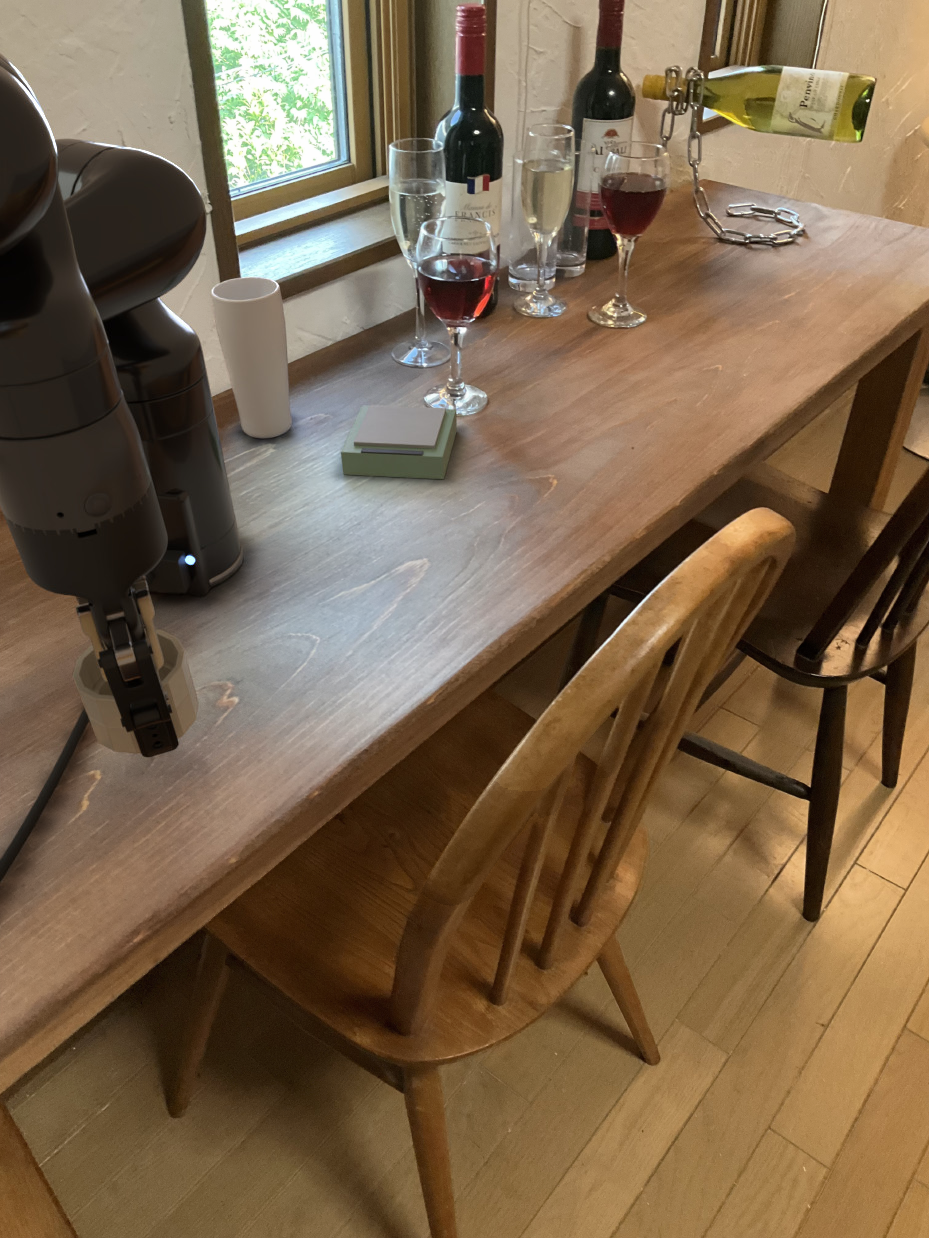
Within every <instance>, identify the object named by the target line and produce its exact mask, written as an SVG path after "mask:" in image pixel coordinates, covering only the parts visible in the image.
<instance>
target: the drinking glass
mask: <svg viewBox="0 0 929 1238" xmlns="http://www.w3.org/2000/svg"><path fill="white" fill-rule="evenodd" d="M210 299H211V305H212V307H211V308H212V313H213V320H214V324H215V330H216V333H217V334H216V335H217V337H218V338H217V339H218V343H219V346H220V349H221V353H222V356H223V361H224V364H225V368H226V371H227V373H228V374H227V375H228V378H229V382H230V386H231V389H232V393H233V397H234V400H235V404H236V408H237V412H238V417H239V422H240V427H241V430H242V432H244V433H245V434H246V435H247V436H249V437H252V438H256V439H271V438H277V437H279V436H281V435H283V434H285V433H287V432H288V431H289V430H290V429H291V427H292V425H293V416H292V410H291V400H290V399H291V398H290V379H289V361H288V360H289V358H288V337H287V325H286V317H285V310H284V309H285V308H284V303H283V297H282V293H281V287H280V284H279V283H278V282H277V281H275V280H273V279H271V278H267V277H260V276H245V277H237V278H231V279H227V280H224V281H221V282H219V283H217V284H215V285H214V286H213V287H212V288H211V290H210Z"/></svg>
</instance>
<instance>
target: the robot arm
mask: <svg viewBox="0 0 929 1238" xmlns="http://www.w3.org/2000/svg"><path fill="white" fill-rule="evenodd" d="M207 218H208V215H207V209H206V204H205V201H204V198H203V196H202V194H201V192H200V190H199V189H198V187H197V185H196V183H195V182H194V181H193V179H192V178H191V177H190V176H189V175H188V174H187V173H186V172H185V171H184V170H183V169H182V168H180V167H179V166H178V165H177V164H174V163H173V162H171V161H170V160H167V159H166V158H164V157H162V156H161V155H157V154H154V153H152V152H150V151H147V150H143V149H139V148H133V147H129V146H123V145H117V144H111V143H105V142H99V141H91V140H85V139H79V138H78V139H77V138H56V139H55V137H54V135H53V131H52V129H51V126H50V124H49V121H48V120H47V118H46V116H45V112H44V110H43V109H42V106H41V104H40V102H39V99H38V97H37V96H36V94H35V92H34V90H33V88H32V86H31V85H30V84H29V82H28V81H27V80H26V78H25V77H24V76H23V74H22V73H21V71H19V69H17V67H16V66H15V65H14V64H13V63H12V62H11V61H10V60H9V59H8V58H7V57H5V56H4V55H3V54H1V53H0V510H1V512H2V514H3V517H4V519H5V522H6V524H7V527H8V529H9V532H10V535H11V537H12V540H13V541H14V544H15V547H16V550H17V552H18V554H19V557H20V559H21V562H22V565H23V566H24V569H25V571H26V574H27V575H28V577H29V579H30V580H31V581H32V582H33V583H34V584H35V585H36V586H37V587H40V588H41V589H43V590H45V591H48V592H50V593H52V594H56V595H60V596H61V595H62V596H70V597H75V599H76V601H77V603H78V605H75V611H76V614H77V617H78V621H79V623H80V627H81V630H82V632H83V634H84V635H85V636H86V637H88V638H89V639H90V643H91V645H92V646H93V649H94V652H95V656H96V659H97V662H98V665H99V668H100V672H101V675H102V678H103V679H104V680H105V681H106V682H108V684H109V686H110V689H111V691H112V694H113V697H114V699H115V702H116V705H117V707H118V710H119V712H120V715H121V719H120V720H121V724H122V727H125V728H126V731H127V733H128V732H132V731H133V732H134V735H135V738H136V740H137V743H138V746H139V749H140V751H141V753H140V754H141V756H143V757H144V758H153V757H156V756H159V755H163V754H165V753H169V752H173V751H175V750H176V749H177V748H179V744H180V741H179V738H177V735H176V731H175V728H174V725H173V722H172V719H171V715H170V713H173V712H172V709H171V705H170V704H169V705H168V702H167V701H168V700H170V699H169V696H168V693H167V692H165V691H164V688H163V685H162V681H161V678H160V675H159V670H160V669H161V668H162V667H163V665H164V657H163V653H162V650H161V646H160V643H159V639H158V636H157V633H156V629H157V628H156V627H155V623H154V619H155V618H156V617H155V616H156V612H155V606H154V604H153V600H152V597H151V594H150V593H156V594H167V595H185V596H186V595H187V596H206V595H207V594H208V593H209V591H210V589H211V588H213V587H215V586H216V585H219V584H221V583H223V582H224V581H226V580H228V579H229V578H230V577H232V575H234V574H235V573H236V572H238V570H239V568H240V567H241V566H242V563H243V561H244V558H245V557H244V555H245V552H244V547H243V543H242V540H241V538H240V534H239V533H240V532H239V527H238V523H237V518H236V513H235V508H234V504H233V503H234V502H233V498H232V492H231V488H230V483H229V477H228V473H227V467H226V462H225V459H224V458H225V457H224V453H223V448H222V443H221V437H220V433H219V427H218V423H217V417H216V411H215V407H214V401H213V396H212V391H211V386H210V380H209V376H208V370H207V367H206V365H207V364H206V359H205V356H204V351H203V346H202V342H201V339H200V337H199V335H198V334H197V332H196V331H195V329H194V328H193V327H192V326H191V325H190V324H189V323H188V322H186V321H185V320H184V319H182V318H181V317H180V316H179V315H178V314H176V313H175V312H174V311H173V310H171V309H170V307H169V306H168V305H166V303H165V302H164V301H163V300H162V299H161V298H162V297H163V296H165V295H166V294H168V293H169V292H171V291H172V290H174V289H175V288H176V287H177V286H179V285H180V284H181V283H182V282H183V281H184V280H185V279H186V277H188V275H189V274H190V272H191V271H192V270H193V268H194V266H195V265H196V264H197V261H198V260H199V258H200V255H201V253H202V251H203V248H204V245H205V241H206V237H207V236H206V235H207V229H208V228H207V222H208V219H207ZM144 628H145V630H146V633H147V637H148V640H149V643H150V645H148V643H147V640H146V634H145V630H144ZM103 642H104V644H105V645H106V647H107V650H105V647H104V644H103ZM89 723H90V721H89V719H88V716H87V713H86V711H85V708H84V707H83V709H82V711H81V713H80V715H79V716H78V719H77V721H76V723H75V724H74V727H73V729H72V731H71V732H70V735H69V736H68V739H67V741H66V743H65V745H64V747H63V749H62V751H61V752H60V755H59V756H58V758H57V761H56V762H55V765H54V766H53V769H52V771H51V772H50V774H49V776H48V778H47V780H46V782H45V783H44V785H43V787H42V788H41V790H40V792H39V794H38V795H37V798H36V799H35V801H34V803H33V805H32V806H31V808H30V810H29V811H28V814H26V817H25V819H24V820H23V822H22V823H21V825H20V827H19V829H18V831H16V834H15V835H14V837H13V839H12V840H11V842H10V844H9V845H8V847H7V848H6V850H5V851H4V853H3V855H2V856H1V858H0V884H1V882H2V881H3V880H4V878H5V876H6V875H7V873H8V872H9V870H10V868H11V867H12V865H13V864H14V863H15V860H16V859H17V858H18V856H19V854H20V852H21V851H22V849H23V847H24V846H25V844H26V842H27V841H28V839H29V838H30V835H31V834H32V832H33V830H34V828H35V826H36V825H37V824H38V821H39V820H40V818H41V816H42V814H43V813H44V811H45V809H46V807H47V805H48V804H49V802H50V800H51V798H52V797H53V794H54V793H55V791H56V789H57V787H58V785H59V783H60V781H61V779H62V777H63V775H64V773H65V772H66V770H67V767H68V765H69V764H70V762H71V759H72V757H73V755H74V754H75V751H76V749H77V747H78V745H79V742H80V741H81V739H82V737H83V734H84V732H85V730H86V729H87V726H88V724H89Z"/></svg>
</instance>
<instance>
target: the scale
mask: <svg viewBox="0 0 929 1238" xmlns="http://www.w3.org/2000/svg"><path fill="white" fill-rule="evenodd" d="M457 431H458V421H457V409H456V408H455V409H453V408H452V409H451V408H446V407H429V406H427V407H426V406H407V405H406V406H405V405H404V406H403V405H381V404H380V405H379V404H370V405H361V407H360V409H359V411H358V413H357V416H356V418H355V420H354V422H353V424H352V426H351V429H350V431H349V433H348V435H347V437H346V440H345V442H344V445H343V446H342V449H341V451H340V458H341V466H342V474H343V475H346V476H347V475H348V476H364V477H365V476H366V477H368V476H369V477H386V478H387V477H389V478H405V479H406V478H407V479H427V480H444V479H445V475H446V472H447V468H448V464H449V461H450V457H451V453H452V450H453V446H454V443H455V442H454V441H455V439H456V435H457Z"/></svg>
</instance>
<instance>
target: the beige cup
mask: <svg viewBox="0 0 929 1238" xmlns="http://www.w3.org/2000/svg"><path fill="white" fill-rule="evenodd" d="M155 629H156V633H157V636H158V639H159V643H160V646H161V650H162V653H163V657H164V665H163V667H162V668H161V669H160V670H159V675H160V678H161V681H162V685H163V688H164V691H165V692H167V693H168V696H169V699H170V700H168V701H167V702H168V705H169V704H170V705H171V709H172V712H173V713H170V715H171V719H172V722H173V725H174V728H175V731H176V735H177V738H178V739H180V738H182V737H183V736H184V735H185V734H186V733H187V732H188V731H189V729H190V728H191V727H192V726H193V724H194V723H195V721H196V720H197V716H198V712H199V703H200V702H199V699H198V695H197V692H196V688H195V684H194V680H193V677H192V673H191V669H190V665H189V661H188V658H187V655H186V651H185V649H184V647H183V645H182V644H181V641H180V640H179V638H178V637H176V635H175V636H174V635H173V634H170V633H168V632H166V631H164V630H162V629H157V628H155ZM144 630H145V628H144ZM145 634H146V640H147V643H148V645H150V643H149V640H148V637H147V633H146V630H145ZM103 644H104V642H103ZM104 647H105V650H107V647H106V645H105V644H104ZM74 665H75V666H74V669H73V672H72V679H73V682H74V685H75V687H76V689H77V692H78V695H79V698H80V700H81V703H82V705H83V709H84V708H85V711H86V713H87V716H88V719H89V724H90V727H91V729H92V732H93V734H94V736H95V739H96V741H97V743H99V744H101V745H102V746H104V747H105V748H107V749H109V750H110V751H113V752H115V753H122V754H123V753H125V754H134V755H135V754H137V755H138V754H141V751H140V749H139V746H138V743H137V740H136V738H135V735H134V732H133V731H132V732H128V733H127V731H126V728H125V727H122V724H121V720H120V719H121V715H120V712H119V710H118V707H117V705H116V702H115V699H114V697H113V694H112V691H111V689H110V686H109V684H108V682H106V681H105V680H104V679H103V678H102V675H101V672H100V668H99V665H98V662H97V659H96V656H95V652H94V649H93V646H92V644H91V645H90V646H89V647H88V648H86V650H85V651H84V652H82V653H81V655H80V656H79V657H78V658H77V659H76V663H75V664H74Z"/></svg>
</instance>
